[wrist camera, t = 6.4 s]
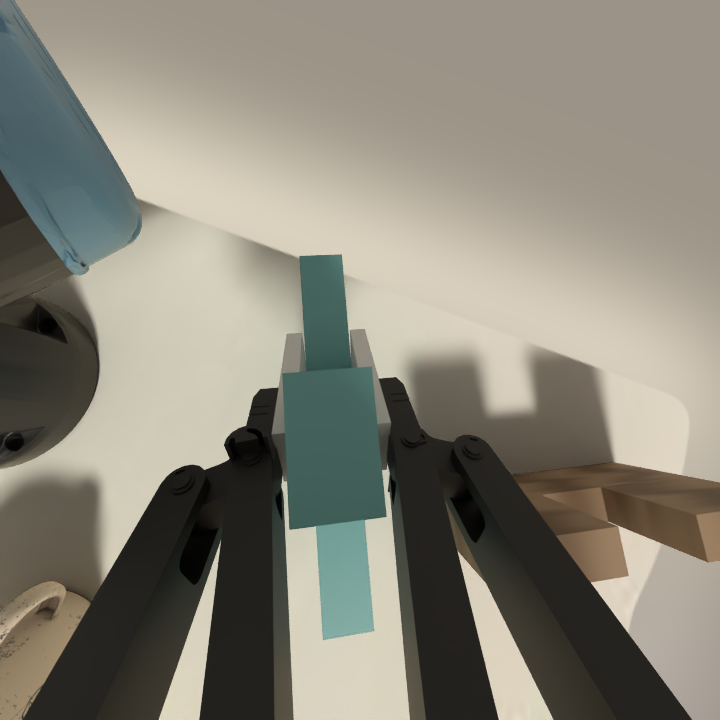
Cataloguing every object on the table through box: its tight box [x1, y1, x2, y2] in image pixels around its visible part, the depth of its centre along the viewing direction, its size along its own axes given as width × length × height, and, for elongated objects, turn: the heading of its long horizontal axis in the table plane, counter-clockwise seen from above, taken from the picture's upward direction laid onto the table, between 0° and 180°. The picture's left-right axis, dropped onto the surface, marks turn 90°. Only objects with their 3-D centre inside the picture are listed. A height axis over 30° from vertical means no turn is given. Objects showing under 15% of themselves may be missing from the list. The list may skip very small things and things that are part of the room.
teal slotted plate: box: [282, 255, 386, 640], centre depth 18 cm, size 20×2×20 cm, turn 5°
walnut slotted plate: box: [445, 463, 720, 583], centre depth 22 cm, size 20×2×12 cm, turn 95°
